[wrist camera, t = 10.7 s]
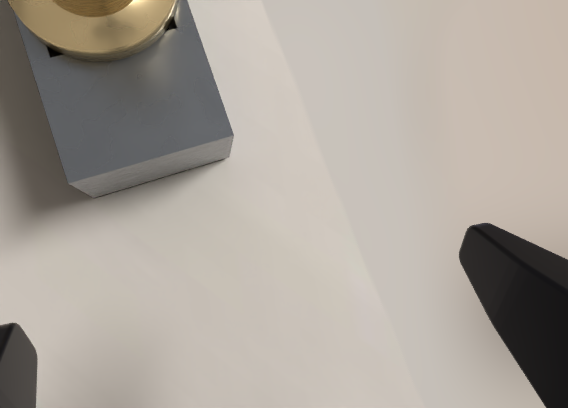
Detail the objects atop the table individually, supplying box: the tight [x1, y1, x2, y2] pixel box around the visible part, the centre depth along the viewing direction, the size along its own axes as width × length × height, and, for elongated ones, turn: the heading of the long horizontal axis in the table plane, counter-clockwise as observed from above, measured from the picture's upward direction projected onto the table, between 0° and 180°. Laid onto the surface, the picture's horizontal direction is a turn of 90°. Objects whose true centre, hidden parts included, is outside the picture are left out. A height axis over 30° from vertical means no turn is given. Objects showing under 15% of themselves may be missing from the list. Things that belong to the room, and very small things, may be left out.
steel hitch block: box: [13, 0, 234, 198], centre depth 20 cm, size 15×7×4 cm, turn 20°
